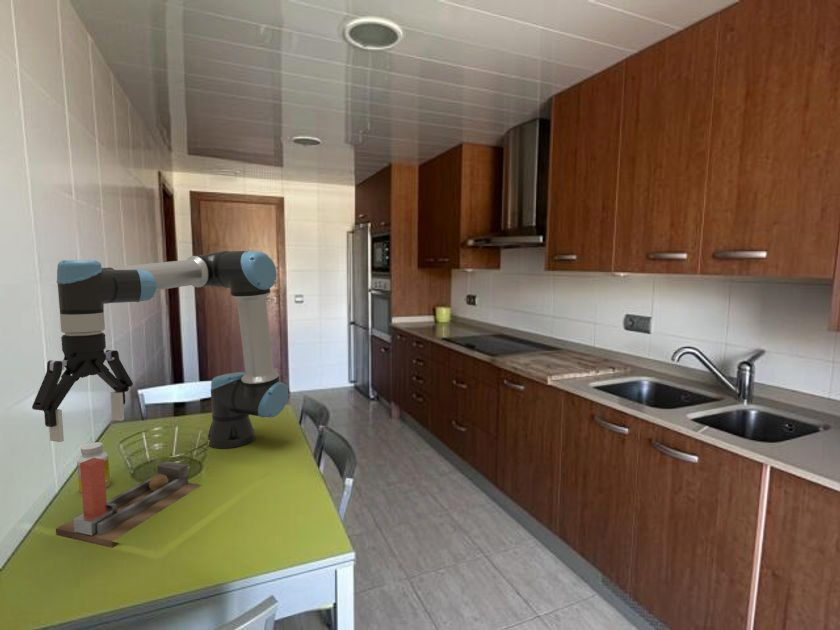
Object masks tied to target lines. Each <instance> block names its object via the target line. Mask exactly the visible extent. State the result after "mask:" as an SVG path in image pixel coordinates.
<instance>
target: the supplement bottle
mask: <svg viewBox="0 0 840 630" xmlns="http://www.w3.org/2000/svg"><path fill="white" fill-rule="evenodd" d="M103 449H104V445H103V442H99V441H96V442H89V443H86V444H83V445H81V447H80V453H81V454H82V455H81V456H79V457H78V458H77V460H76V467H77V479H78V491H79V493H80V494H82V484H81V470H80V463H82V462H84V461H87V460H89V459H92V458H98V459H104V472H105V487H106V489H107V488H109V487H110V485H111V478H110V464H109V454H108V453H107V452H106V451H104V450H103Z"/></svg>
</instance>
